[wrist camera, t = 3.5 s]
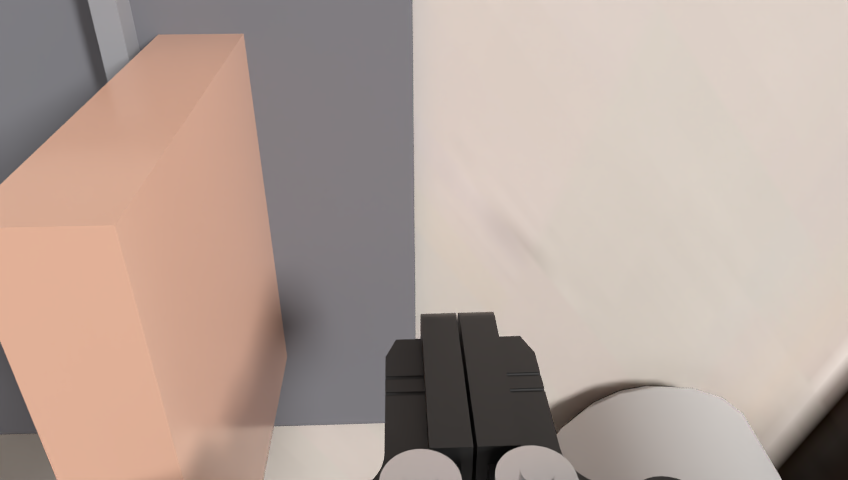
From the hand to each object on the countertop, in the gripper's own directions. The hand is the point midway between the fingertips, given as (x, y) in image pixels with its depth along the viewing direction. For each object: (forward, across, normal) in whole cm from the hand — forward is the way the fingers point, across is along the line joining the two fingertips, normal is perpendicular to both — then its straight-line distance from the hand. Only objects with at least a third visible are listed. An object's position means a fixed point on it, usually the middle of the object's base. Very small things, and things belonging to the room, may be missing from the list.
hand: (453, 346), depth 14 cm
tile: (+6, +6, 0) cm, 8 cm away
